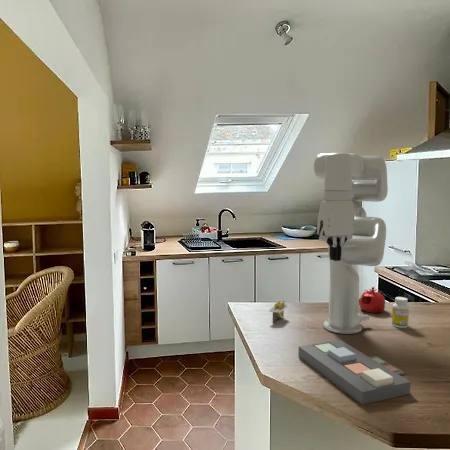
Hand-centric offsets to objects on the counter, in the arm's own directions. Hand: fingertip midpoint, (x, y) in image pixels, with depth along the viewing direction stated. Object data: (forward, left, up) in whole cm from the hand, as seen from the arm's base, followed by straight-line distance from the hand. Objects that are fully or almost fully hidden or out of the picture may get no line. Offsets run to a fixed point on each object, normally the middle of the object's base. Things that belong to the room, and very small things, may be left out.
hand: (335, 259), depth 129 cm
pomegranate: (-36, -26, -27) cm, 52 cm away
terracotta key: (+5, +19, -27) cm, 33 cm away
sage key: (+5, +5, -27) cm, 28 cm away
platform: (+2, -29, -28) cm, 40 cm away
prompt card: (-6, +15, -27) cm, 32 cm away
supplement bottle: (-34, -9, -27) cm, 45 cm away
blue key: (+5, +12, -25) cm, 28 cm away
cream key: (+5, +26, -25) cm, 36 cm away
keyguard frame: (+5, +15, -27) cm, 31 cm away
